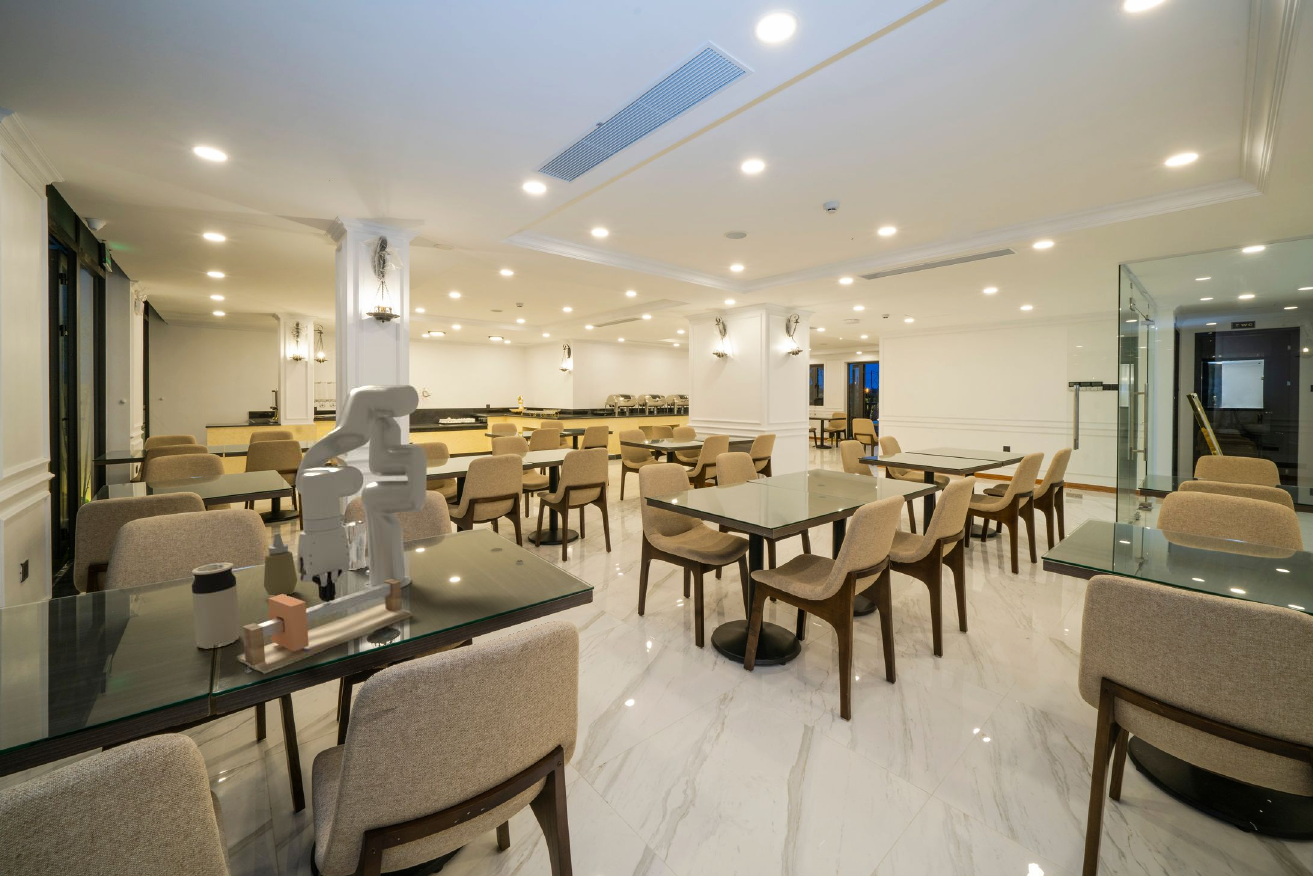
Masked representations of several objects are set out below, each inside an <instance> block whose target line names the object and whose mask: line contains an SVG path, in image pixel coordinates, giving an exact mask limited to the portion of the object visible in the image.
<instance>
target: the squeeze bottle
mask: <svg viewBox="0 0 1313 876" xmlns="http://www.w3.org/2000/svg"><path fill="white" fill-rule="evenodd" d="M264 557H265V558H264V571H263V572H264V573H263V574H264V575H263V576H264V578H263V588H264V589H265V591H266V593H267V595H268V594H269V595H275V596H277V595H281V594H284V595H286V594H290V593H292V592H293V591H295V589H296V585H297V582H298V576H297V572H296V567H295V561H294V556H293V552H292V551H290V550H289V545H288V544H286V543H284V542H283V539H282V535H281V533H280V532H276V533H274V536H273V543H272V545H270V546H269V547H268V554H266V556H264ZM293 593H294V592H293ZM293 593H292V594H293ZM269 595H268V596H269ZM290 595H291V594H290Z"/></svg>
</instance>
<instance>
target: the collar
mask: <svg viewBox="0 0 1313 876" xmlns="http://www.w3.org/2000/svg"><path fill="white" fill-rule="evenodd" d="M267 601H268V602H267V605H268V615H269V617H268V618H269V621H270V620H273V619H276V618H279V617H281V618H283V619H284V625H285V631H282V632H279V633H276V634H273V635H270V641H271V642H272V643H276V644H279V645H281V646H283V647H285V648H288V649H290V650H292V651H297V650H299V649H302V648H304V647H307V646H309V643H308V630H309V629H308V623H307V613H306V609H307V602H306V601H305V600H301V599H298V598H296V597H292V596H290V595H288V596H287V595H284V594H281V595H277V596H274V597H268V598H267Z"/></svg>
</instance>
